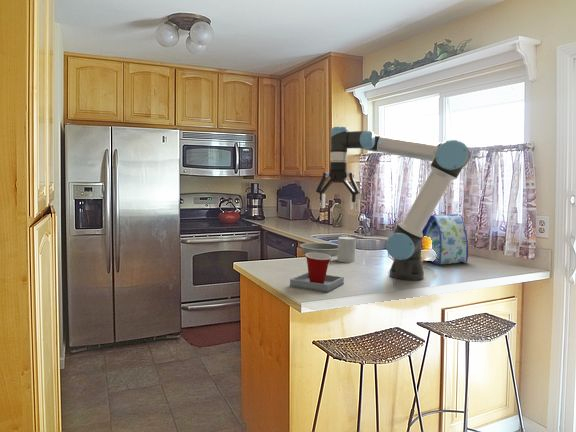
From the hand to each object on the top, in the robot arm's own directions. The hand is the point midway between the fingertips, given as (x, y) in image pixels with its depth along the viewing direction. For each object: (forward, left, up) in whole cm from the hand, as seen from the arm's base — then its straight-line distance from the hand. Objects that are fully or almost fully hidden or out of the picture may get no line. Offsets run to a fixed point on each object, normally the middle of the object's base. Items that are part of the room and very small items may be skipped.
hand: (337, 208), depth 204 cm
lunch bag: (-37, -63, -30) cm, 79 cm away
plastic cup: (-2, +24, -30) cm, 38 cm away
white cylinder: (+8, -34, -30) cm, 46 cm away
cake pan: (+29, -47, -31) cm, 63 cm away
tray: (-2, +24, -30) cm, 39 cm away
